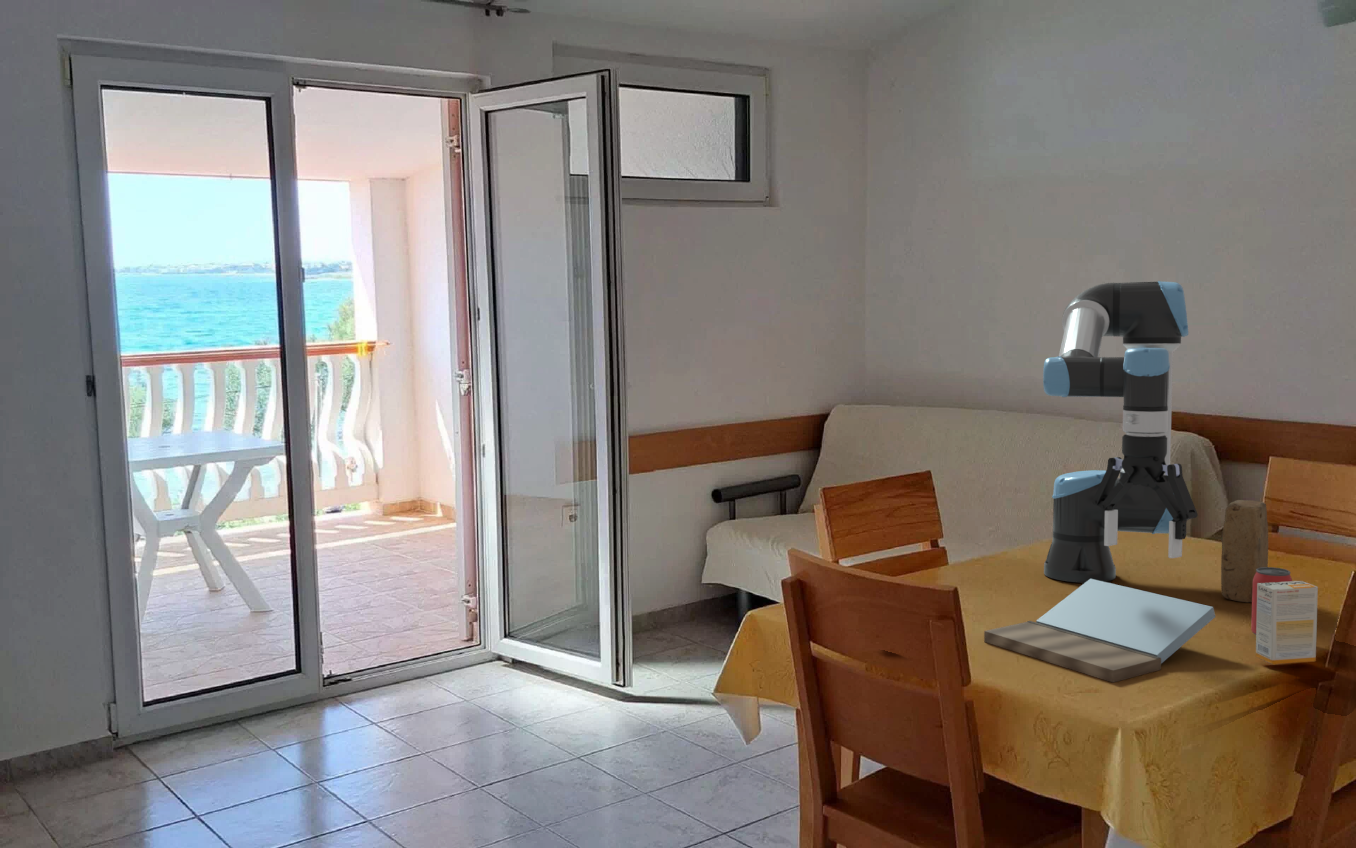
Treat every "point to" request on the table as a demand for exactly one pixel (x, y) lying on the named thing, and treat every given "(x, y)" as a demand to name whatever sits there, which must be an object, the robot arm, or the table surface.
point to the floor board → (1073, 651)
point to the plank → (1129, 617)
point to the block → (1243, 548)
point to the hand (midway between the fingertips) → (1142, 551)
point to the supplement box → (1286, 622)
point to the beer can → (1266, 577)
